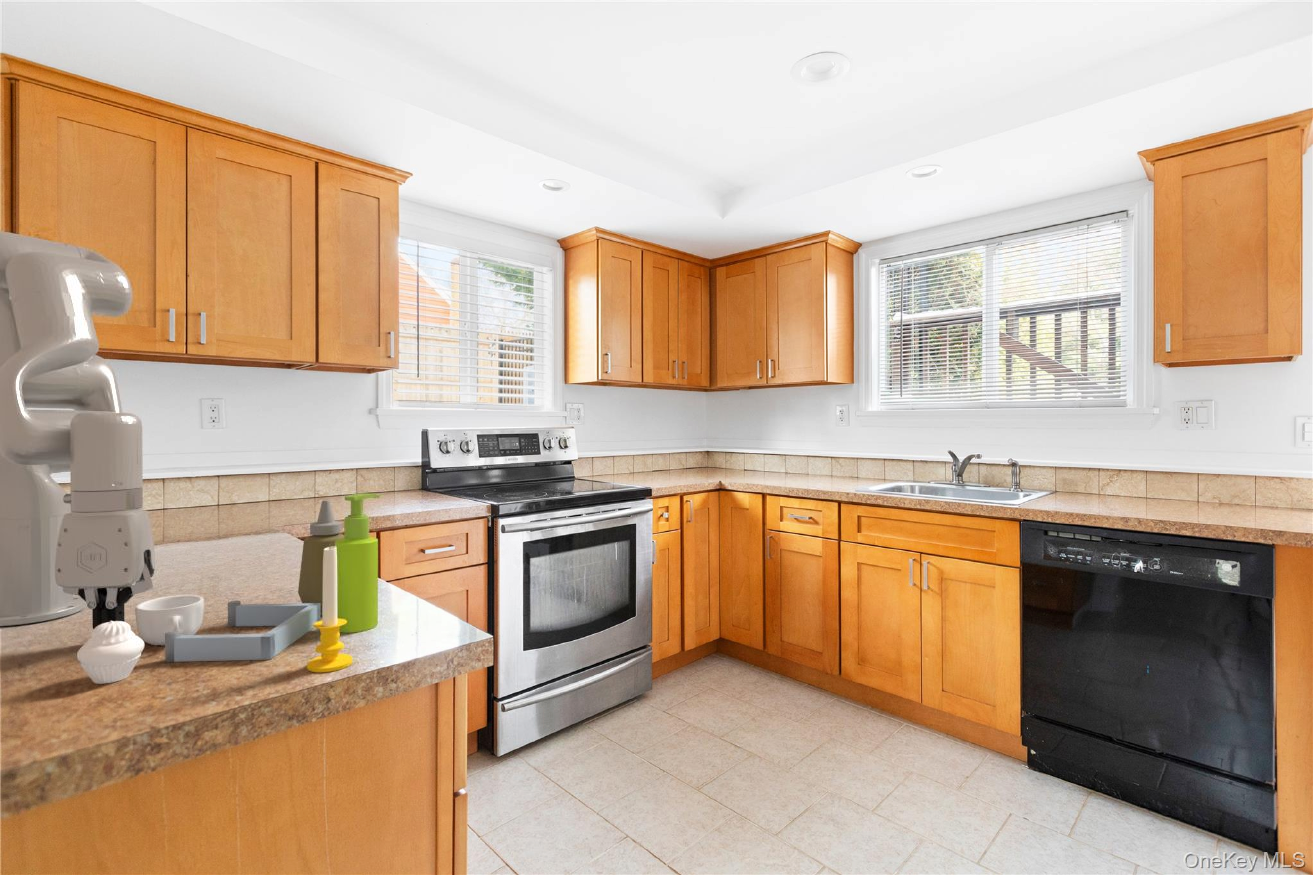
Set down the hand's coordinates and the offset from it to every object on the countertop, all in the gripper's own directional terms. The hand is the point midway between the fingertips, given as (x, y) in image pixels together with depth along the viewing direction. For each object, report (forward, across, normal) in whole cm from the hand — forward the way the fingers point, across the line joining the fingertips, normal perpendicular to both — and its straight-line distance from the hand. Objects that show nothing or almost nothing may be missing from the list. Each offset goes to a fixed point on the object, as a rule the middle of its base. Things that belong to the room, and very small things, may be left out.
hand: (108, 634), depth 88 cm
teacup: (+2, +8, 0) cm, 8 cm away
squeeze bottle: (+1, +23, +14) cm, 27 cm away
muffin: (+1, +9, -13) cm, 16 cm away
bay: (+1, +18, 0) cm, 18 cm away
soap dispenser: (+2, +31, +6) cm, 32 cm away
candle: (+2, +33, -10) cm, 35 cm away
